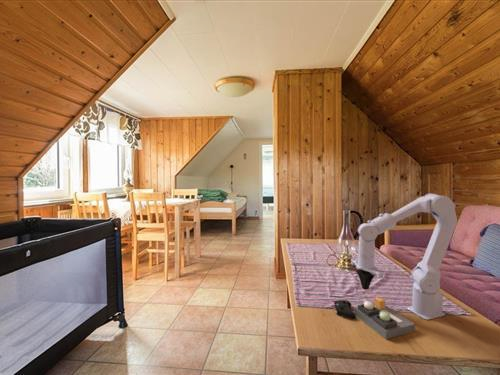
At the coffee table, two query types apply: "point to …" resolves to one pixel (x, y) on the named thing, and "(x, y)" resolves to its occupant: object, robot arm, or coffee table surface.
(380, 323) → the control panel
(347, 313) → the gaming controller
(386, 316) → the green button
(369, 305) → the white button
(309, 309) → the coffee table surface
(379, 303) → the slider knob
